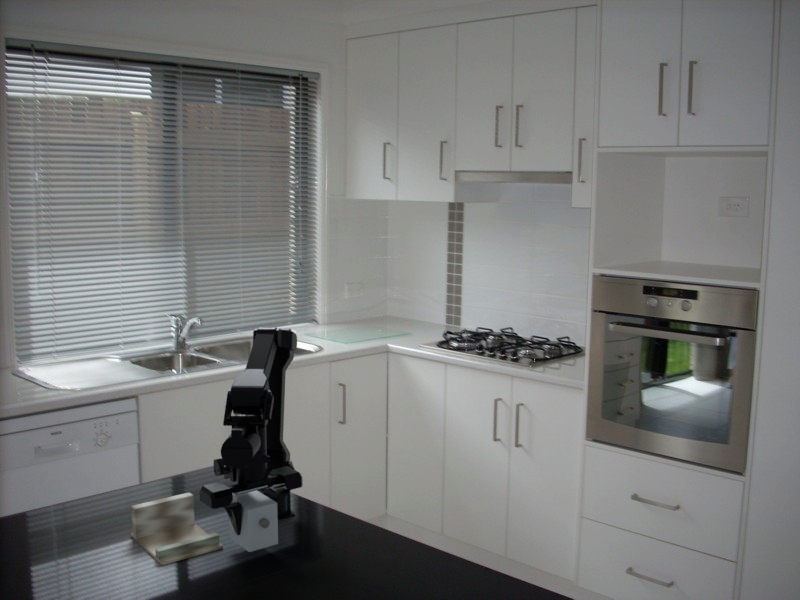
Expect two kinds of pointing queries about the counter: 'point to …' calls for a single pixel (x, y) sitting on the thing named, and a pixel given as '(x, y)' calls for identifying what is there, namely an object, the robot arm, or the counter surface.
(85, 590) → the counter surface
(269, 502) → the cabinet block
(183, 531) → the cleat board
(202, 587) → the counter surface
